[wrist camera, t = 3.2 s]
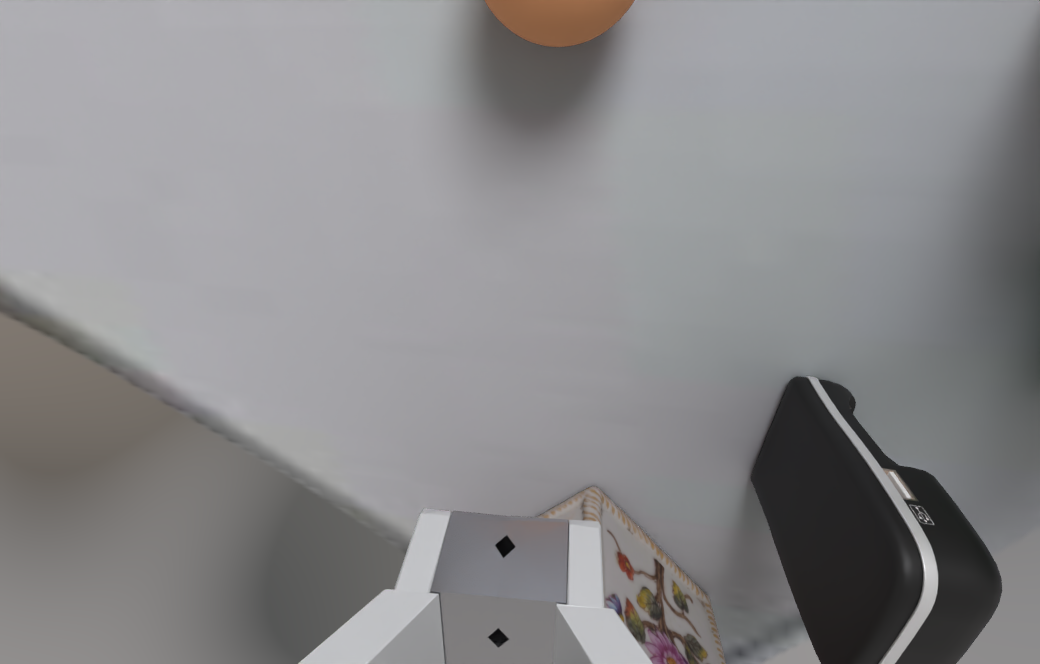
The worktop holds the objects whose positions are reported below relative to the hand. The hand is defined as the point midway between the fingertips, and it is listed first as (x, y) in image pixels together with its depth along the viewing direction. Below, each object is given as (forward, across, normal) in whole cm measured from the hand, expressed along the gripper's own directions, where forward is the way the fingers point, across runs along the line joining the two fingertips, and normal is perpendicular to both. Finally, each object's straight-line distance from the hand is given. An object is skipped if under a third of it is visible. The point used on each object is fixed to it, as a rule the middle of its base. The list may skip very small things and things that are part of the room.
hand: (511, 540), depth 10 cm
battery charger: (+17, -13, +10) cm, 23 cm away
